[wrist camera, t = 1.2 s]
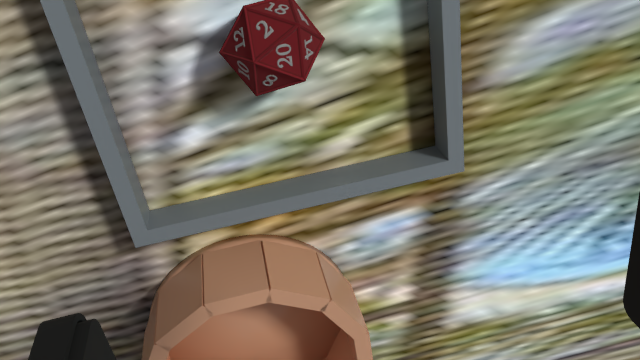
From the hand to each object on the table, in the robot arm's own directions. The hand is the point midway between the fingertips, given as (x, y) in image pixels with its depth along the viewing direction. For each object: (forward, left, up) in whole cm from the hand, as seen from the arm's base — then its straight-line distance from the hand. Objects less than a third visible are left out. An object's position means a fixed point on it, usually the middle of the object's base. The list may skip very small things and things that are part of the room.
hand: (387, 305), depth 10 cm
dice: (0, 0, -19) cm, 19 cm away
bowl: (+4, +16, -19) cm, 25 cm away
